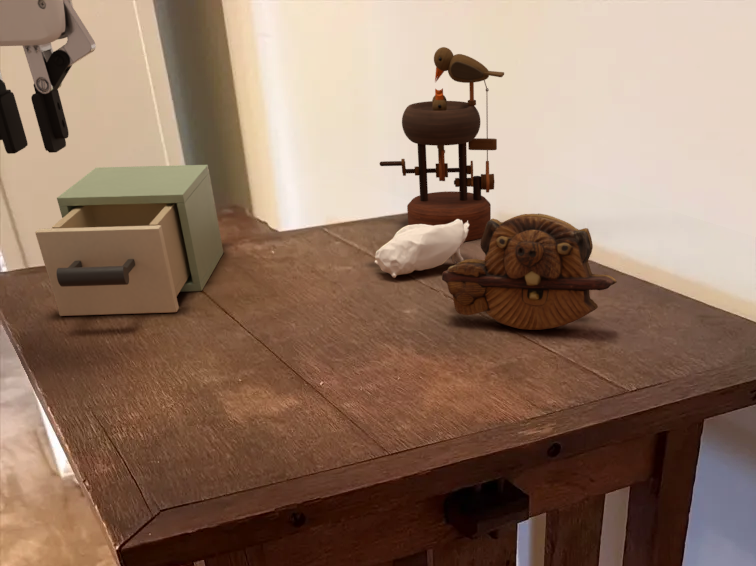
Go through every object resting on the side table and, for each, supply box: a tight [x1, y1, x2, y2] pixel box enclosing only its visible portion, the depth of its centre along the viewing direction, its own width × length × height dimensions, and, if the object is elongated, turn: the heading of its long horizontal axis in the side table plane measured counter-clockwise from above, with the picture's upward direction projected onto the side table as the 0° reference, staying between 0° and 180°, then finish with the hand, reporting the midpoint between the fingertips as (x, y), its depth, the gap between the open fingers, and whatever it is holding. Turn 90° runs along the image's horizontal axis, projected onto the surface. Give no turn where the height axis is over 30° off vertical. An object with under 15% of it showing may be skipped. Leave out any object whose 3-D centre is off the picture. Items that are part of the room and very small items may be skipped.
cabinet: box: [56, 164, 224, 293], centre depth 101 cm, size 15×13×10 cm
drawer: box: [34, 203, 191, 317], centre depth 91 cm, size 18×11×8 cm, turn 3°
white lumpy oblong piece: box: [374, 219, 469, 279], centre depth 101 cm, size 5×7×10 cm
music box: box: [379, 46, 505, 242], centre depth 110 cm, size 15×11×20 cm
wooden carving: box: [441, 213, 618, 331], centre depth 85 cm, size 16×5×10 cm, turn 77°
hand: (36, 147), depth 73 cm, fingers closed
